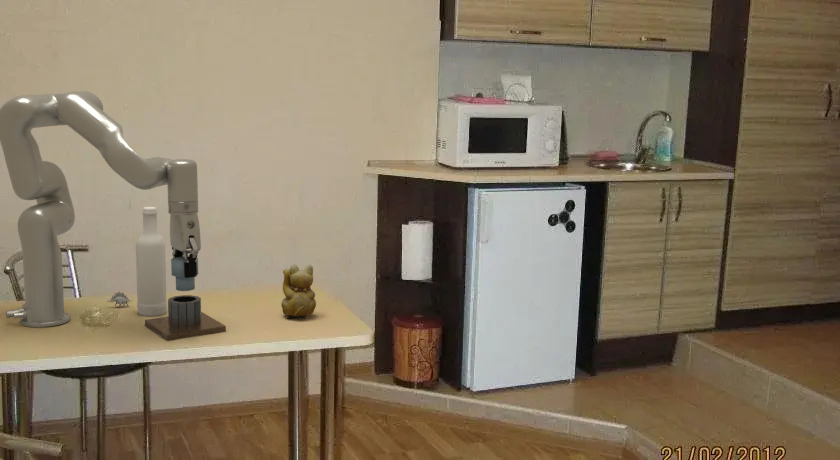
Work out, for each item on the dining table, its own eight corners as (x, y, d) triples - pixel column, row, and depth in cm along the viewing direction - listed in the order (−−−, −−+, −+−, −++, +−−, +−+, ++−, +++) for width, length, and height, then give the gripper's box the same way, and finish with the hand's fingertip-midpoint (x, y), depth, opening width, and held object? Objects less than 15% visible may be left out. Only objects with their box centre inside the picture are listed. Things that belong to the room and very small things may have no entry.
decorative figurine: (314, 312, 250) (314, 261, 247) (317, 320, 242) (318, 268, 240) (280, 314, 248) (280, 262, 245) (283, 322, 240) (283, 269, 237)
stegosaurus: (105, 307, 249) (105, 291, 248) (131, 305, 252) (131, 289, 251) (106, 309, 247) (106, 293, 246) (132, 307, 250) (132, 291, 249)
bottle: (158, 317, 240) (155, 210, 235) (132, 315, 242) (129, 208, 237) (171, 310, 248) (169, 206, 243) (146, 307, 250) (143, 204, 244)
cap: (177, 293, 225) (177, 263, 223) (168, 287, 230) (167, 258, 229) (202, 289, 229) (202, 260, 227) (192, 284, 234) (191, 255, 233)
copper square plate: (166, 340, 220) (166, 310, 219) (144, 325, 233) (144, 296, 231) (225, 331, 230) (225, 302, 228) (201, 316, 242) (201, 289, 241)
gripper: (210, 210, 221) (212, 279, 224) (184, 201, 235) (185, 266, 238) (182, 213, 216) (184, 282, 220) (156, 203, 230) (159, 269, 233)
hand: (185, 273), depth 229 cm, fingers closed on cap, 6 cm apart
